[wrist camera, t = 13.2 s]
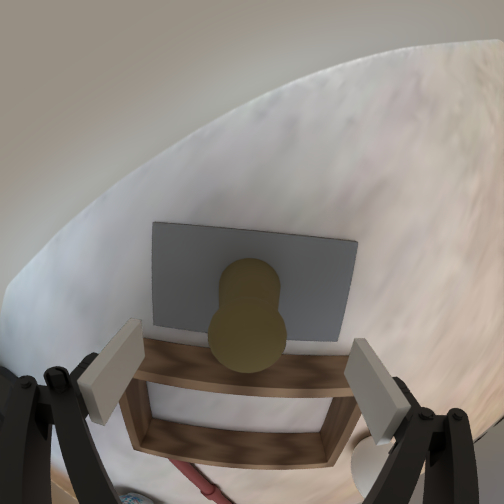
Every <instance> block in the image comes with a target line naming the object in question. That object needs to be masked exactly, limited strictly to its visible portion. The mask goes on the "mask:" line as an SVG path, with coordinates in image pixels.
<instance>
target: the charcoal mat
mask: <svg viewBox="0 0 504 504" xmlns="http://www.w3.org/2000/svg"><path fill="white" fill-rule="evenodd" d="M357 247H358V242H356V241H348V240H339V239H331V238H322V237H313V236H303V235H294V234H284V233H274V232H264V231H254V230H243V229H233V228H222V227H210V226H199V225H187V224H174V223H161V222H153V228H152V302H153V323H154V325H156V326H162V327H169V328H175V329H182V330H189V331H197V332H205V333H208V327H209V325H210V322H211V319H212V317H213V315H214V314H215V313H216V311H217V310H218V309H219V280H220V277H221V275H222V272H223V271H224V270H225V269H226V268H227V267H228V265H230V264H232V263H233V262H235V261H236V260H240V259H244V258H256V259H259V260H262V261H264V262H266V263H268V264H269V265H270V266H271V267H272V268H274V270H275V271H276V273H277V275H278V276H279V280H280V284H281V288H280V297H279V306H278V312H279V313H280V315H281V316H282V318H283V319H284V322H285V327H286V331H287V340H300V341H332V342H337V341H338V337H339V333H340V329H341V325H342V321H343V317H344V313H345V308H346V304H347V299H348V295H349V290H350V285H351V280H352V275H353V270H354V264H355V258H356V253H357Z"/></svg>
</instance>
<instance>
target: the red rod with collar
mask: <svg viewBox="0 0 504 504" xmlns="http://www.w3.org/2000/svg"><path fill="white" fill-rule="evenodd" d="M168 459H169V458H168ZM169 460H170V461H171V462H172V463H173V464H174V465H175V466H176V467H177V468H178V469H179V470H180V471H181V472H182V473H183V474H184V475H185V476H186V477H187V478H188V479H189V480H190V481H191V482H192V483H193V484H195V485H196V486H197V487H198V488H199V489H200V490H201V493H202V494H203V495H204V496H205V497H206V498H207V499H209V500H213V501H214V502H216V503H217V504H232V503H231V502H230V501H229V500H227V499H226V498H225V497H224V496H223V495H222V494H221V491H220V490H219V489H218V488H217V487H216V486H215V485H214V484H210V483H209V482H208V481H207V480H206V479H205V478H204V477H202V476H201V475H200V474H199V473H198V472H197V471H196V469H195V468H194V467H193V466H192V465H191V464H190V463H189V462H185V461H179V460H174V459H169Z"/></svg>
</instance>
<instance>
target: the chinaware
mask: <svg viewBox="0 0 504 504" xmlns="http://www.w3.org/2000/svg"><path fill="white" fill-rule="evenodd" d="M119 498H120V500H121V501H122V503H123V504H154V502H153V501H152V500H151V499H149V498H147V497H145V496H143V495H140V494H136V493H128V494H127V495H121V496H119Z"/></svg>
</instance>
